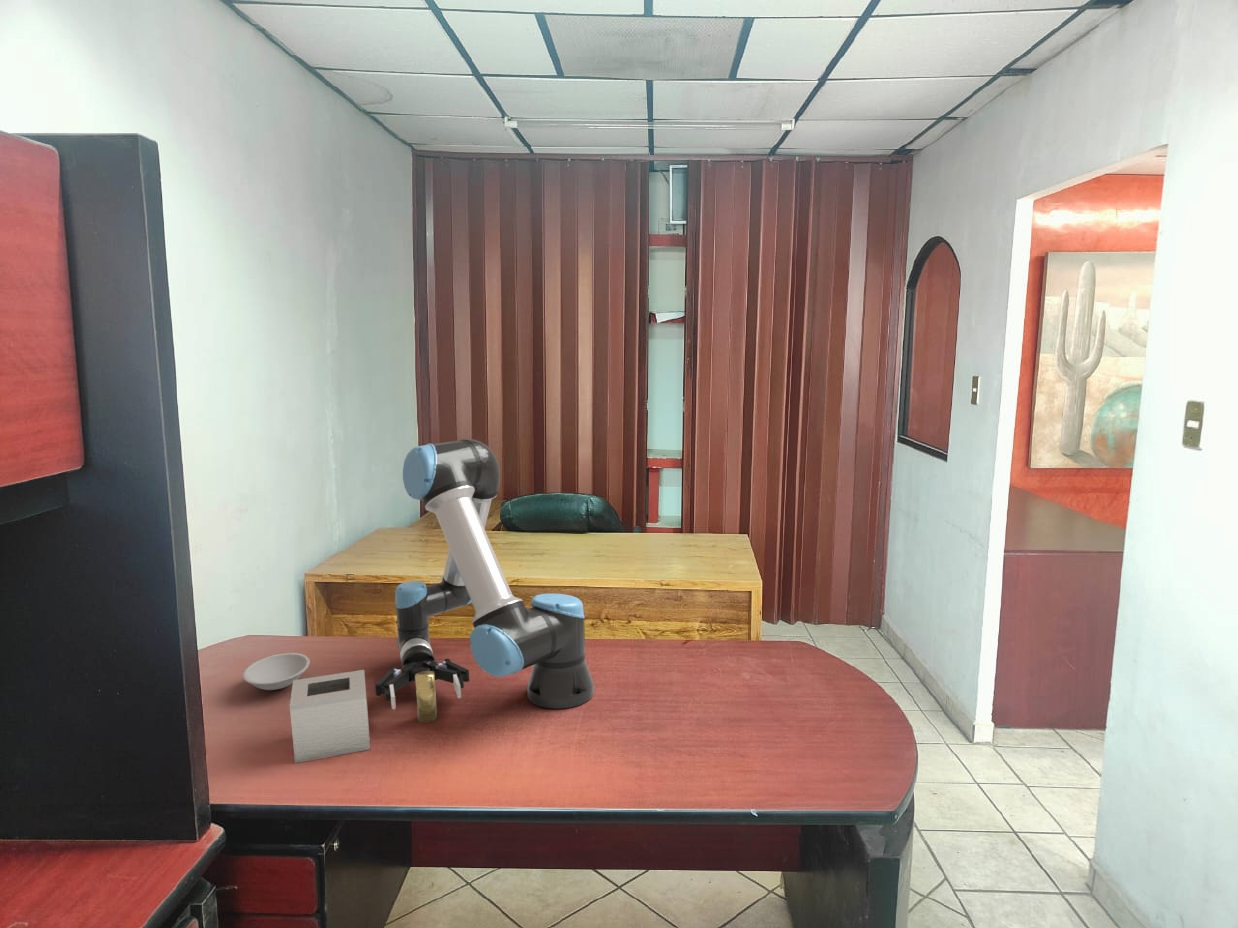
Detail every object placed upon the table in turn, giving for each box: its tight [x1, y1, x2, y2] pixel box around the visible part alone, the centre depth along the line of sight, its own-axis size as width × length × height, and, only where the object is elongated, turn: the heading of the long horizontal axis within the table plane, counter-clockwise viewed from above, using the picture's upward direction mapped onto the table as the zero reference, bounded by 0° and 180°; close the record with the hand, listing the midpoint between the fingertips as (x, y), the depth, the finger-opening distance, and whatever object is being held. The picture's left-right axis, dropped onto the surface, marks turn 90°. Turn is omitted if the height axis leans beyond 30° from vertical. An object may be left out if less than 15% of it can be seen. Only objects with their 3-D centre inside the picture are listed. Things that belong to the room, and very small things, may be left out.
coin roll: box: [414, 671, 438, 724], centre depth 168 cm, size 4×4×10 cm
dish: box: [242, 652, 311, 691], centre depth 186 cm, size 18×14×5 cm
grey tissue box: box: [289, 669, 371, 764], centre depth 159 cm, size 14×12×12 cm
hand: (426, 697), depth 166 cm, fingers open, 13 cm apart
